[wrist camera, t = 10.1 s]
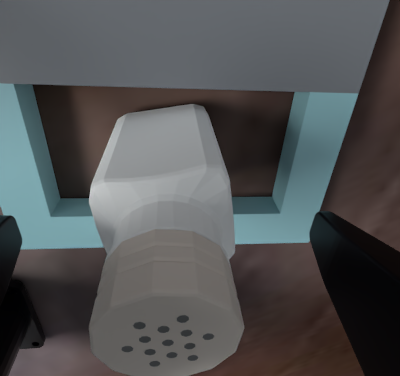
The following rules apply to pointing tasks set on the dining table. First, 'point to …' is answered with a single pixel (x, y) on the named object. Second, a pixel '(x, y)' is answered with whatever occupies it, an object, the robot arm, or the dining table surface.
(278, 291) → the dining table surface
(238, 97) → the dining table surface
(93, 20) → the panel
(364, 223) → the dining table surface
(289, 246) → the dining table surface
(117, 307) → the white salt shaker
